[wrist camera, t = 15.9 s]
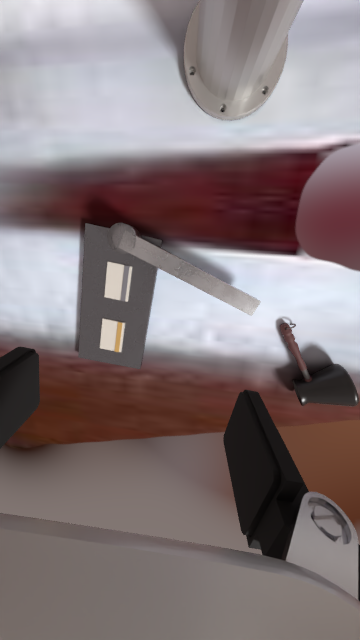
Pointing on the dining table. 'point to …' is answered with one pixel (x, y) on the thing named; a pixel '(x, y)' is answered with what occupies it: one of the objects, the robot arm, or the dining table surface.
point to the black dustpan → (321, 380)
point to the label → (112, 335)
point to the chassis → (114, 300)
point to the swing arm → (177, 267)
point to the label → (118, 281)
